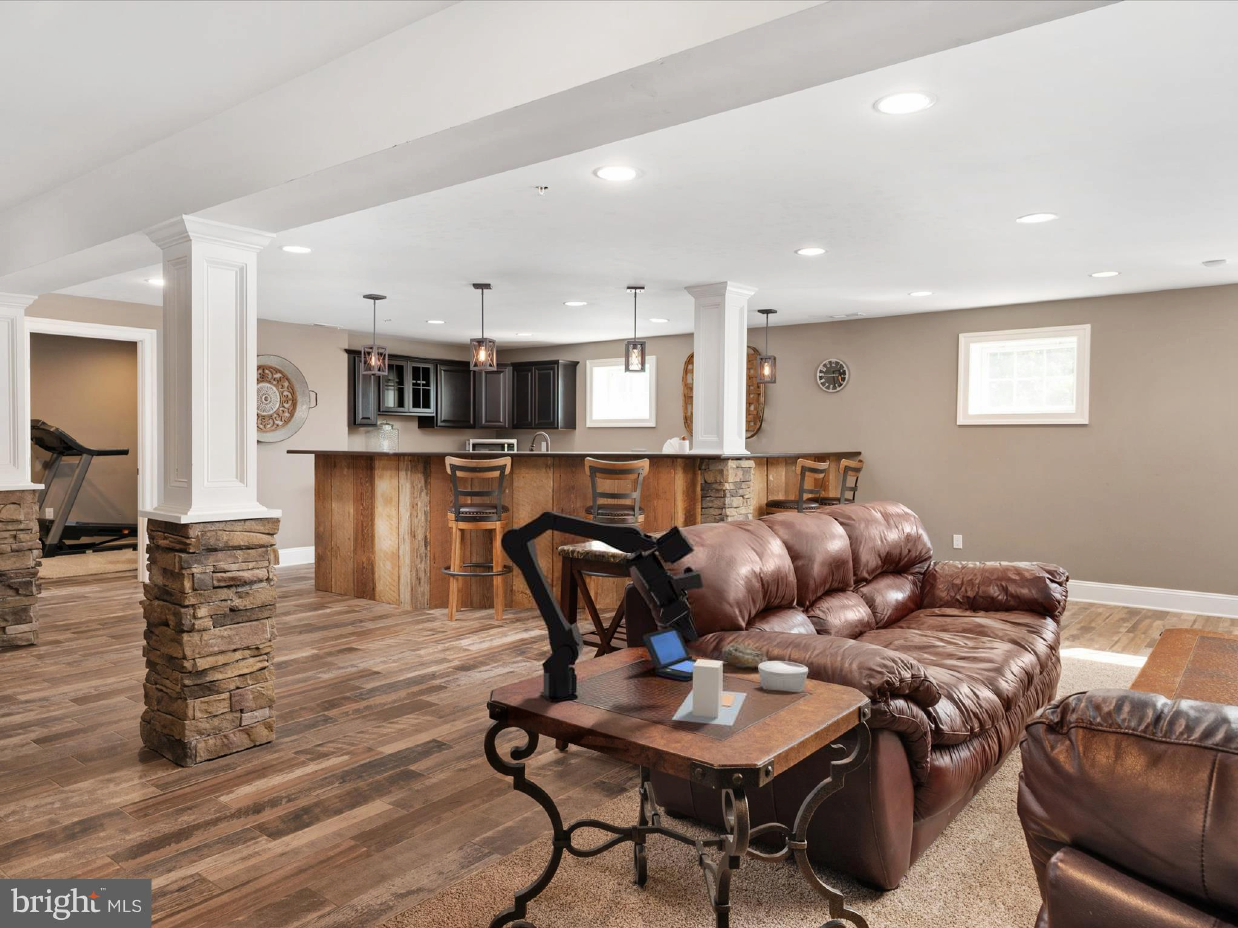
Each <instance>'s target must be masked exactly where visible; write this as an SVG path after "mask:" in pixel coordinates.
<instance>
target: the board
mask: <svg viewBox="0 0 1238 928" xmlns="http://www.w3.org/2000/svg"><path fill="white" fill-rule="evenodd" d="M747 694H748V693H747V692H739V691H738V692H736V691H726V690H722V711H721V713H720V715H719V717H708V716H698V715H693V688H692V689H691V691H690V692H689V694H688V695H687V696H686V699H684V701H683V703H682V704H681V706H680V707H679V708H678V710H677V711H676V713H675V714H674V716H673V717H672V719H671V721H672V720H674V721H682V722H692V723H702V724H709V725H710V724H711V725H720V726H731V727H733V726H734V723H735V721H736V719H737V717H738V715H739V712H740V710H741V709H742V705H743V703H744V701H745V698H746V697H747Z"/></svg>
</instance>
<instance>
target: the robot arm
mask: <svg viewBox="0 0 1238 928" xmlns="http://www.w3.org/2000/svg"><path fill="white" fill-rule="evenodd" d="M548 531H554V532H558V533H562V534H567V535H572V536H576V537H580V538H584V539H589V540H594V541H597V542H600V543H603V544H605V545H607V546H608V547H610V548H612V549H615V550H617V551H619V552H622V553H624V554H628V555H629V554H631V555H632V554H635V553H636V552H638V551H640V550H641V551H640V552H638V553H637V554H635V555H633V556H630V557H629V556H625V558H624V562H625V563H624V569H623V571H625V572H627V571H629V570H630V569H632V568H634V570H635V572H636V573H637V575H638V577H639V578H640V579H641V580H642V582H643V583H644V585H645V586H646V590H647V591H648V593H649V594H651V596H652V597H653V598H654V600H655V601H656V602H657V603H656V604H657V606H658V608H659V609H660V613H659V614H660V615H659V616H660V619H661V620H662V622H663V624H664V625H665V626H666V627H668V628H673V629H674V630H676V631H677V632H679V633H680V634H681V636H684V637H685V638H687V639H688V640H690V641H692V642H693V643H697V642H699V637H698V634H697V632H696V631H697V626H696V623H694V620H693V618H692V617H693V616H692V614H691V612H692V607H691V605H690V604H689V600H690V598H689V597H690V596H689V595H688V592H687V591H689V590H690V591H691V590H694V589H696V590H698V589H702V588H703V587H704V583H703V578H702V575H701V572H700V570H698V569H694V568H692V566H690V565H689V566H685V567H683V571H682V573H679V574H676V575H674V574H673V573H672V572H671V571H669V570H668V569H667V568H666V566H665V564H669V563H670V564H671V565H675V564H676V563H678V562H680V561H681V560H683V559H684V558H686V557H688V556H689V555H691V554H692V553H693V552H695V549H694V547H693V545H692V543H691V541H690V539H689V538H688V537H687V535H685V534H684V532H683V531H682V530H681V529H680V527H679V526H678V525H676V524H675V525H673V526H672V527H671V528H670V529H669V530H668V531H666V532H665V533H664V534H662V535H660V536H659V537H656V536H654V535H651V534H648V533H645V532H644V530H643V529H642V528H641V527H640V526H638V525H636V524H627V523H624V524H623V523H603V522H598V521H594V520H590V519H585V518H581V517H576V516H573V515H568V514H563V513H559V512H557V511H555V510H546V511H544V512H542V513H541V514H540V515H538V517H536V518H534V519H532V520H531V521H530V522H529V521H528V523H526V524H524V525H522V526H516V527H512V528H510V529H508V530H507V531H505V532H504V533H503V534H502V536H501V540H500V546H501V548H502V550H503V551H504V553H505V555H506V556H507V557H508V559H509V560H510V561H511V563H513V565H514V566H515V567H517V569H518V570H519V571H520V572H521V574H522V577H523V579H524V581H525V584H526V587H527V588H528V589H529V592H530V594H531V596H532V598H533V600H534V603H535V605H536V606H537V609H538V611H539V614H540V615H541V618H542V619H543V622H544V624H545V626H546V629H547V633H548V634H547V635H548V641H549V642H548V643H549V647H550V650H551V653H550V655H549V656H547V657H546V659H545V660H544V661H543V662H542V664H541V665H542V669H543V682H542V683H543V688H542V689H543V691H539V692H540V693H539V694H540V696H542V697H544V698H545V699H546V700H548V701H550V702H552V703H553V702H554V703H555V702H560V701H568V700H573V699H578V698H579V695H578V694H577V692H578V686H577V685H578V681H577V680H578V676H577V674H576V668H575V667H573V666H572V665H573V664H575V663H576V662H577V660H578V659H579V657H580V656H581V655H582V654H583V651H584V642H583V641H584V640H585V637H584V636H583V635H582V633H581V632H580V631H581V630H580V629H579V625H578V622H575V623H573V624H570V623H569V621H567V619H566V618H565V616H564V614H563V612H562V610H561V608H560V606H559V605H560V604H558V601H557V598H556V597H555V595H554V593H553V590H552V588H551V587H550V584H549V582H548V580H547V578H546V575H545V573H544V571H543V569H542V567H541V565H540V563H539V559H538V551H537V546H536V541H535V540H536V539H537V538H539V537H541V536H542V535H544V534H546V533H547V532H548ZM654 546H655V547H654ZM650 549H651V550H650ZM643 550H649V551H647V552H644V551H643ZM656 552H657V553H658V554H657V553H656ZM658 555H659V556H660V557H659V556H658ZM662 561H663V562H664V563H665V564H664V563H663V562H662Z"/></svg>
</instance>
